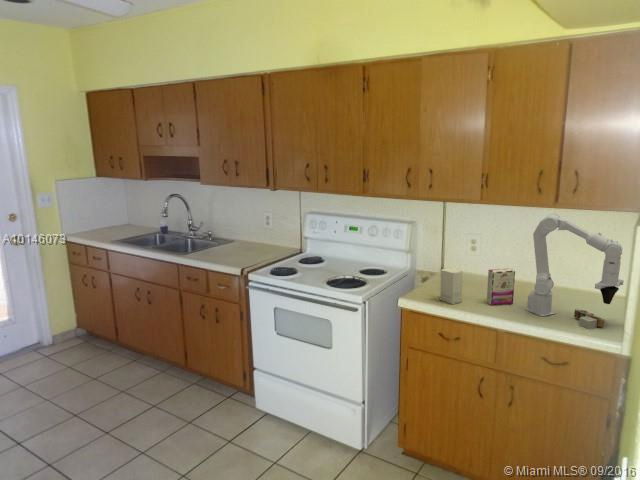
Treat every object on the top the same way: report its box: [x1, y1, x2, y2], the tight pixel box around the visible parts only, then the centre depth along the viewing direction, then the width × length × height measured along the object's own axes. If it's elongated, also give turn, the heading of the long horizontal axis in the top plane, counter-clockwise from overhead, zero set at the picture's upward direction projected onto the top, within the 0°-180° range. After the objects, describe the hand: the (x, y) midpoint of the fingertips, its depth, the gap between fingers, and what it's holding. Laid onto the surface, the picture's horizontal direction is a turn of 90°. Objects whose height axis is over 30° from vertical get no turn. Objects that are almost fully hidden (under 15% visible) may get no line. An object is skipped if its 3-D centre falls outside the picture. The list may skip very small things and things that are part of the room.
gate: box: [573, 308, 606, 328], centre depth 194 cm, size 12×3×4 cm, turn 23°
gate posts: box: [577, 312, 595, 322], centre depth 197 cm, size 4×6×3 cm
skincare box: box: [439, 267, 463, 305], centre depth 220 cm, size 8×7×16 cm
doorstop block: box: [578, 316, 598, 330], centre depth 191 cm, size 4×4×4 cm
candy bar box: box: [486, 267, 516, 306], centre depth 217 cm, size 11×5×16 cm, turn 99°
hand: (606, 303), depth 191 cm, fingers closed
